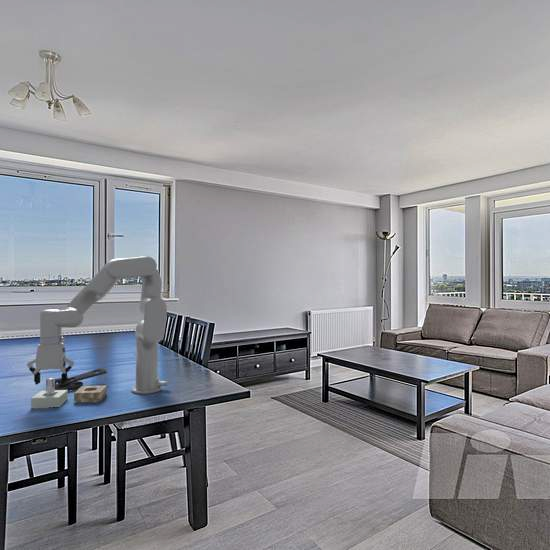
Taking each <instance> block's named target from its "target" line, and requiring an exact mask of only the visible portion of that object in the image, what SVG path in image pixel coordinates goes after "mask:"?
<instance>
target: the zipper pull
mask: <svg viewBox="0 0 550 550" xmlns="http://www.w3.org/2000/svg"><path fill="white" fill-rule="evenodd" d="M106 374H107V370H106V369H104V368H96V369H94V370H91V371H87V372H84V373H81V374H78V375H77V374H76V375H74V376H70V377H68V376H67V381H66V382H65V383H64V384H62V383H61V377H60V378H55V390H68V391H69V392H71V391H70V390H74V391H76V390H75V389H79V388H80V387H82V386H84V382H82V381H83V380H86V379H91V378H94V377H97V376H102V375H106Z"/></svg>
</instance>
